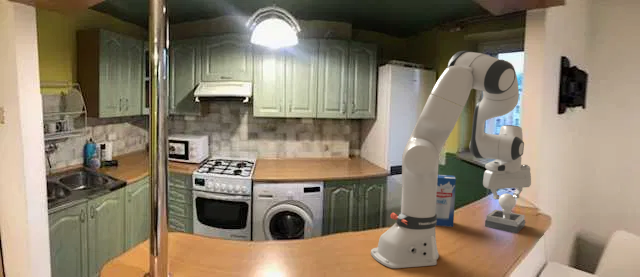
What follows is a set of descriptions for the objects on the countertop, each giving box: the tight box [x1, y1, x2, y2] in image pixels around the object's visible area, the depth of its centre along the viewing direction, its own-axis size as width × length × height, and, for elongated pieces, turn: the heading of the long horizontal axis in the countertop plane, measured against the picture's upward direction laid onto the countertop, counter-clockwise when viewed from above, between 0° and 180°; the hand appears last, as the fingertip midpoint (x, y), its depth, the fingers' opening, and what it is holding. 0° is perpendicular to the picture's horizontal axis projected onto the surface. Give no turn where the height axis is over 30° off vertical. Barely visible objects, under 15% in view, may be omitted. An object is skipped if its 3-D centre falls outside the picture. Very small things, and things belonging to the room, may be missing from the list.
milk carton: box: [436, 174, 457, 228], centre depth 156 cm, size 10×6×20 cm, turn 76°
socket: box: [484, 209, 526, 234], centre depth 154 cm, size 12×12×4 cm
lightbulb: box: [498, 193, 517, 219], centre depth 154 cm, size 6×6×11 cm
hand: (506, 198), depth 153 cm, fingers open, 8 cm apart
